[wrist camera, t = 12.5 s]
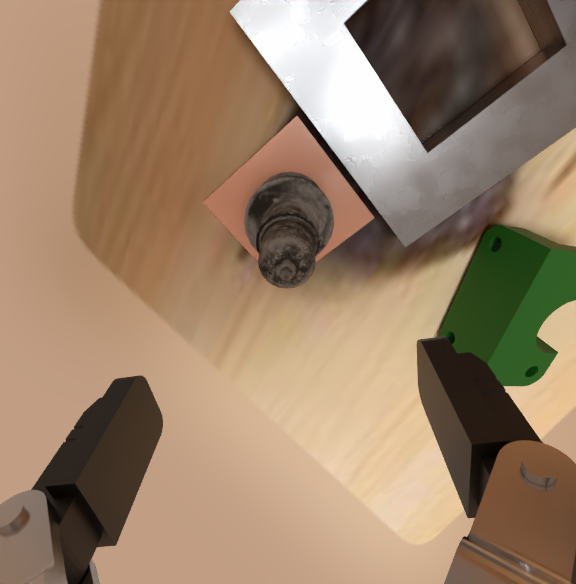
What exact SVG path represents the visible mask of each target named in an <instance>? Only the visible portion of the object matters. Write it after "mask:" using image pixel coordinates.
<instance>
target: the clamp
mask: <svg viewBox="0 0 576 584" xmlns="http://www.w3.org/2000/svg"><path fill="white" fill-rule="evenodd" d="M574 300H576V247H573V246H567V245H560V244H556V243H554V242H552V241H550V240H548V239H546V238H543V237H541V236H539V235H537V234H535V233H533V232H530V231H528V230H526V229H522V228H515V227H509V226H503V225H496V226H493V227H491V228H490V229H489V230H488V231H487V232H486V233H485V234H484V236H483V238H482V240H481V242H480V245H479V247H478V249H477V251H476V253H475V255H474V258H473V260H472V262H471V264H470V266H469V268H468V271H467V273H466V275H465V277H464V279H463V281H462V284H461V286H460V288H459V290H458V292H457V294H456V297H455V299H454V301H453V303H452V305H451V307H450V310H449V312H448V314H447V316H446V318H445V320H444V323H443V325H442V327H441V329H440V332H439V337H443V336H446V337H447V338H448V339H449V341H450V342H451V344H452V346H453V347H454V349H455V351H456V352H457V354H459V353H466V352H471V353H472V354H474V355H475V356H477V357H478V358H480V359H481V360H483V361H484V362H486V363H487V364H488V366H489V367H490V369H491V370H492V372H493V373H494V374H495V376H496V377H497V381H498V380H499V382H500V383H501V384H502V386H527V385H530V384H532V383H534V382H536V381H537V380H539V379H540V378H541V377H542V376H543V375H544V373H545V372H546V370H547V369H548V367H549V366H550V364H551V363H552V361H553V360H554V358H555V357H556V355H557V353H558V352H557V351H556V350H554V349H553V348H552V347H550V346H549V345H548V344H546V343H545V342H544V341H542V340H541V339H540V338H538V337H537V333H538V331H539V329H540V327H541V325H542V324H543V322H544V321H545V320H546V318H547V317H548V316H549V315H550V314H551V313H552V312H554V311H555V310H556V309H558V308H559V307H561V306H562V305H564V304H566V303H568V302H571V301H574Z"/></svg>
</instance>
